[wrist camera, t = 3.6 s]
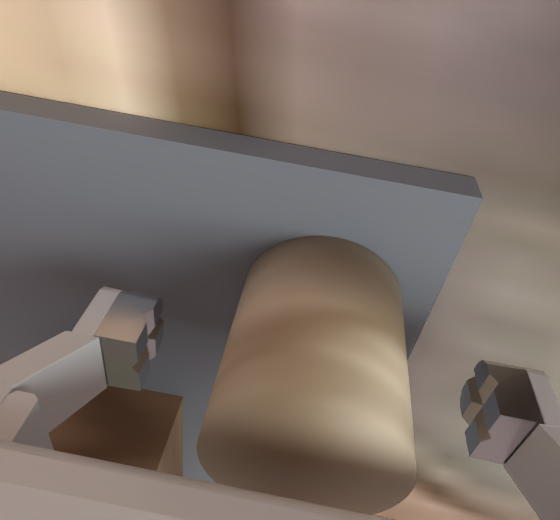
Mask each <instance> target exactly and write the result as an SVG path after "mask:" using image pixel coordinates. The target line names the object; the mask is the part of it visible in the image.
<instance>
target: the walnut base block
mask: <svg viewBox="0 0 560 520" xmlns="http://www.w3.org/2000/svg"><path fill="white" fill-rule="evenodd" d="M49 436H50V440H51V443H52V446H53V449H54V450H55V451H60V452H65V453H70V454H75V455H80V456H85V457H90V458H94V459H99V460H104V461H109V462H114V463H119V464H124V465H129V466H134V467H139V468H143V469H148V470H153V471H158V472H163V473H168V474H173V475H178V476H183V397H181V396H176V395H171V394H166V393H161V392H156V391H151V390H146V389H141V391H136V390H131V389H125V388H119V387H113V386H107V388H106V389H105V390H103V391H102V392H101V393H99V394H98V395H97V396H96V397H94V398H93V399H92V400H90V401H89V402H88V403H86V404H85V405H84V406H83V407H81V408H80V409H79V410H77V411H76V412H75V413H74V414H72V415H71V416H70V417H68V418H67V419H66V420H65V421H63V422H62V423H61V424H59V425H58V426H57V427H56V428H54V429H53V430H52V431H50V432H49Z"/></svg>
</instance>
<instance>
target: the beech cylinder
mask: <svg viewBox="0 0 560 520" xmlns="http://www.w3.org/2000/svg"><path fill="white" fill-rule="evenodd" d="M196 449H197V456H198V459H199V462H200V464H201V465H202V467H203V469H204V470H205V472H206V473H207V474H208V475H209V476H210V477H211V478H212V479H213V480H214V481H215V482H216V483H217V484H222V485H227V486H232V487H236V488H241V489H246V490H251V491H256V492H261V493H266V494H271V495H276V496H281V497H286V498H291V499H296V500H300V501H305V502H310V503H315V504H320V505H325V506H330V507H335V508H340V509H345V510H350V511H355V512H359V513H364V514H369V515H373V514H376V513H379V512H382V511H385V510H387V509H389V508H391V507H393V506H395V505H396V504H398V503H400V502H401V501H402V500H403V499H405V498H406V497H407V496H408V495H409V493H410V492H411V491H412V489H413V487H414V485H415V483H416V479H417V465H416V453H415V442H414V431H413V420H412V409H411V398H410V386H409V375H408V364H407V353H406V342H405V331H404V319H403V308H402V297H401V289H400V285H399V282H398V280H397V278H396V275H395V274H394V272H393V271H392V269H391V268H390V267H389V265H388V264H387V263H386V262H385V261H384V260H383V259H382V258H381V257H379V256H378V255H377V254H376V253H374V252H373V251H371V250H370V249H368V248H366V247H364V246H362V245H360V244H358V243H355V242H352V241H350V240H346V239H342V238H338V237H331V236H315V235H314V236H303V237H298V238H293V239H290V240H287V241H283V242H281V243H279V244H277V245H275V246H273V247H271V248H270V249H268V250H267V251H265V252H264V253H263V254H262V255H261V256H259V257H258V259H257V260H256V261H255V262H254V263H253V265H252V267H251V268H250V270H249V272H248V275H247V277H246V281H245V284H244V287H243V290H242V294H241V297H240V300H239V304H238V307H237V310H236V314H235V317H234V320H233V323H232V327H231V330H230V333H229V337H228V340H227V343H226V346H225V350H224V353H223V356H222V360H221V363H220V366H219V370H218V373H217V376H216V379H215V383H214V386H213V389H212V393H211V396H210V399H209V403H208V406H207V409H206V412H205V416H204V419H203V422H202V426H201V429H200V432H199V436H198V439H197V445H196Z"/></svg>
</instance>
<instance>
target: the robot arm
mask: <svg viewBox="0 0 560 520" xmlns="http://www.w3.org/2000/svg"><path fill="white" fill-rule="evenodd" d="M162 311H163V300H162V299H161V298H157V297H153V296H148V295H143V294H139V293H134V292H130V291H125V290H119V289H114V288H110V287H105V286H104V287H103V288H101V289H100V290H99V291H98V292H97V294H96V295H95V297H94V298H93V300H92V301H91V303H90V304H89V306H88V307H87V309H86V310H85V312H84V313H83V315H82V316H81V318H80V319H79V321H78V322H77V324H76V325H75V327H74V328H73V330H72V331H71V332H70V331H64V332H62V333H60V334H58V335H56V336H55V337H53V338H51V339H49V340H47V341H45V342H43V343H41V344H39V345H37V346H35V347H33V348H32V349H30V350H28V351H26V352H24V353H22V354H20V355H18V356H16V357H14V358H12V359H11V360H9V361H7V362H5V363H3V364H1V365H0V520H394V519H389V518H384V517H379V516H374V515H369V514H364V513H359V512H355V511H350V510H345V509H340V508H335V507H330V506H325V505H320V504H315V503H310V502H305V501H300V500H296V499H291V498H286V497H281V496H276V495H271V494H266V493H261V492H256V491H251V490H246V489H241V488H236V487H232V486H227V485H222V484H217V483H212V482H207V481H202V480H197V479H192V478H187V477H183V476H178V475H173V474H168V473H163V472H158V471H153V470H148V469H143V468H139V467H134V466H129V465H124V464H119V463H114V462H109V461H104V460H99V459H94V458H90V457H85V456H80V455H75V454H70V453H65V452H60V451H55V450H54V449H53V446H52V443H51V440H50V436H49V432H50V431H52V430H53V429H54V428H56V427H57V426H58V425H59V424H61V423H62V422H63V421H65V420H66V419H67V418H68V417H70V416H71V415H72V414H74V413H75V412H76V411H77V410H79V409H80V408H81V407H83V406H84V405H85V404H86V403H88V402H89V401H90V400H92V399H93V398H94V397H96V396H97V395H98V394H99V393H101V392H102V391H103V390H105V389H106V388H107V386H113V387H119V388H125V389H131V390H136V391H141V389H142V386H143V384H144V382H145V380H146V378H147V375H148V373H149V371H150V362H149V360H151V359H152V358H154V357H156V355H157V353H158V351H159V348H160V345H161V341H162V338H163V331H164V321H163V320H162V319H161V317H160V315H161V313H162ZM474 372H475V377H473V378H471V379H469V380H467V381H466V383H465V385H464V387H463V389H462V394H461V398H460V408H461V414H462V417H463V418H464V419H465V421H466V422H467V423H468V424H469V427H468V428H467V430H466V431H465V435H466V441H467V446H468V451H469V456H470V457H473V458H477V459H481V460H486V461H490V462H495V463H499V464H504V468H505V469H506V471H507V472H508V473H509V475H510V476H511V478H512V479H513V481H514V482H515V484H516V485H517V486H518V488H519V489H520V491H521V492H522V494H523V495H524V496H525V498H526V499H527V501H528V502H529V504H530V505H531V507H532V508H533V509H534V511H535V512H536V514H537V515H538V517H539V518H540V519H541V520H560V406H559V404H558V401H557V399H556V396H555V393H554V391H553V388H552V386H551V383H550V381H549V378H548V376H547V374H546V373H545V372H544V371H539V370H534V369H528V368H521V367H518V366H512V365H507V364H501V363H496V362H490V361H485V360H482V361H480V362H479V363H478V364H477V365H476V367H475V368H474Z"/></svg>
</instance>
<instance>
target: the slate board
mask: <svg viewBox="0 0 560 520" xmlns="http://www.w3.org/2000/svg"><path fill="white" fill-rule="evenodd" d="M482 199H483V198H482V195H481V192H480V190H479V187H478V184H477V182H476V179H475V178H474V177H469V176H463V175H458V174H452V173H447V172H441V171H436V170H430V169H425V168H419V167H414V166H408V165H403V164H397V163H392V162H387V161H381V160H376V159H370V158H365V157H359V156H354V155H348V154H343V153H337V152H332V151H326V150H321V149H315V148H310V147H305V146H299V145H294V144H288V143H283V142H277V141H272V140H266V139H261V138H255V137H250V136H244V135H239V134H233V133H228V132H222V131H217V130H212V129H206V128H201V127H195V126H190V125H184V124H179V123H173V122H168V121H162V120H157V119H151V118H146V117H140V116H135V115H130V114H124V113H119V112H113V111H108V110H102V109H97V108H91V107H86V106H80V105H75V104H69V103H64V102H58V101H53V100H48V99H42V98H37V97H31V96H26V95H20V94H15V93H9V92H4V91H0V365H1V364H3V363H5V362H7V361H9V360H11V359H12V358H14V357H16V356H18V355H20V354H22V353H24V352H26V351H28V350H30V349H32V348H33V347H35V346H37V345H39V344H41V343H43V342H45V341H47V340H49V339H51V338H53V337H55V336H56V335H58V334H60V333H62V332H64V331H70V332H71V331H72V330H73V328H74V327H75V325H76V324H77V322H78V321H79V319H80V318H81V316H82V315H83V313H84V312H85V310H86V309H87V307H88V306H89V304H90V303H91V301H92V300H93V298H94V297H95V295H96V294H97V292H98V291H99V290H100V289H101V288H103V287H104V286H105V287H110V288H114V289H119V290H125V291H130V292H134V293H139V294H143V295H148V296H153V297H157V298H161V299H162V300H163V311H162V313H161V315H160V317H161V319H162V320H163V321H164V331H163V338H162V341H161V345H160V348H159V351H158V353H157V355H156V357H154V358H152V359H151V360H149V362H150V371H149V373H148V375H147V378H146V380H145V382H144V384H143V386H142V389H146V390H151V391H156V392H161V393H166V394H171V395H176V396H181V397H183V477H187V478H192V479H197V480H202V481H207V482H212V483H216V482H215V481H214V480H213V479H212V478H211V477H210V476H209V475H208V474H207V473H206V472H205V470H204V469H203V467H202V465H201V464H200V462H199V459H198V456H197V449H196V445H197V439H198V436H199V432H200V429H201V426H202V422H203V419H204V416H205V412H206V409H207V406H208V403H209V399H210V396H211V393H212V389H213V386H214V383H215V379H216V376H217V373H218V370H219V366H220V363H221V360H222V356H223V353H224V350H225V346H226V343H227V340H228V337H229V333H230V330H231V327H232V323H233V320H234V317H235V314H236V310H237V307H238V304H239V300H240V297H241V294H242V290H243V287H244V284H245V281H246V277H247V275H248V272H249V270H250V268H251V267H252V265H253V263H254V262H255V261H256V260H257V259H258V257H259V256H261V255H262V254H263V253H264V252H265V251H267V250H268V249H270V248H271V247H273V246H275V245H277V244H279V243H281V242H283V241H287V240H290V239H293V238H298V237H303V236H314V235H315V236H331V237H338V238H342V239H346V240H350V241H352V242H355V243H358V244H360V245H362V246H364V247H366V248H368V249H370V250H371V251H373V252H374V253H376V254H377V255H378V256H379V257H381V258H382V259H383V260H384V261H385V262H386V263H387V264H388V265H389V267H390V268H391V269H392V271H393V272H394V274H395V275H396V278H397V280H398V282H399V285H400V289H401V297H402V308H403V319H404V331H405V342H406V353H407V360H408V358H409V356H410V354H411V352H412V350H413V347H414V345H415V343H416V341H417V339H418V337H419V335H420V332H421V330H422V328H423V326H424V324H425V322H426V320H427V317H428V315H429V313H430V311H431V309H432V307H433V305H434V302H435V300H436V298H437V296H438V294H439V292H440V289H441V287H442V285H443V283H444V281H445V279H446V277H447V274H448V272H449V270H450V268H451V266H452V264H453V262H454V259H455V257H456V255H457V253H458V251H459V249H460V247H461V244H462V242H463V240H464V238H465V236H466V234H467V232H468V229H469V227H470V225H471V223H472V221H473V219H474V217H475V214H476V212H477V210H478V208H479V206H480V204H481V202H482Z"/></svg>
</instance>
